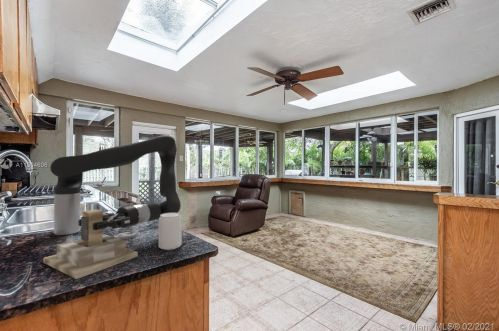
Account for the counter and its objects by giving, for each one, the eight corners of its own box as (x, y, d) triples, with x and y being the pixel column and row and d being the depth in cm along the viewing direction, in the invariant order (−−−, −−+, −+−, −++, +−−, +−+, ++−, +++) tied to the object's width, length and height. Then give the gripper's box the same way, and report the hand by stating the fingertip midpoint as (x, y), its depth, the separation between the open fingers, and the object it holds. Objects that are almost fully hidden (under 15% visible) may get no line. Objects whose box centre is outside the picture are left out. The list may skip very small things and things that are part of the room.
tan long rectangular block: (80, 256, 75) (80, 211, 74) (95, 251, 79) (95, 209, 79) (87, 258, 73) (87, 213, 73) (102, 253, 77) (102, 210, 77)
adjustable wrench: (63, 254, 81) (63, 249, 81) (60, 249, 86) (59, 244, 86) (138, 237, 100) (138, 233, 100) (132, 234, 104) (132, 230, 104)
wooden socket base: (43, 262, 73) (43, 244, 73) (103, 245, 89) (103, 230, 89) (76, 279, 63) (76, 258, 63) (137, 256, 79) (137, 239, 79)
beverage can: (186, 245, 90) (186, 213, 90) (169, 252, 83) (169, 218, 83) (170, 241, 94) (170, 211, 94) (153, 248, 87) (153, 215, 86)
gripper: (122, 203, 92) (74, 210, 78) (146, 207, 85) (98, 215, 71) (122, 222, 92) (74, 233, 78) (146, 228, 85) (98, 240, 71)
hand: (85, 224), depth 74 cm, fingers open, 8 cm apart
